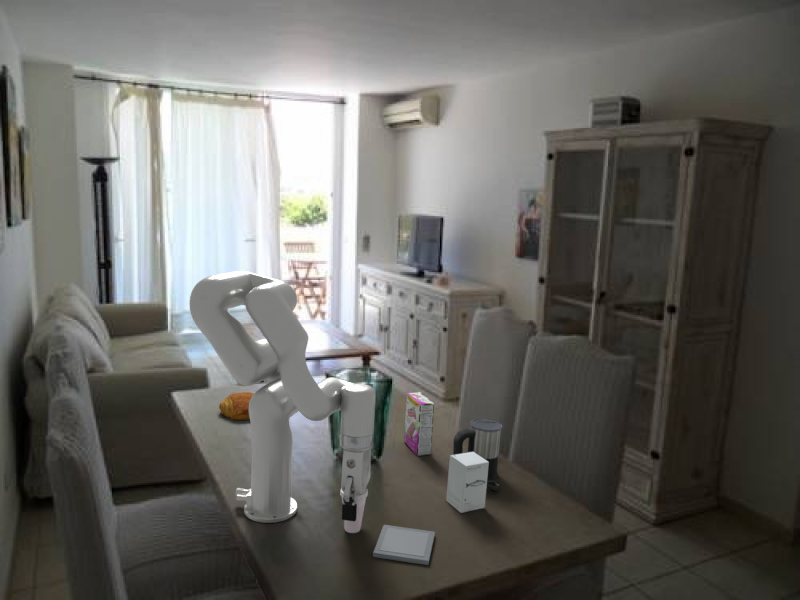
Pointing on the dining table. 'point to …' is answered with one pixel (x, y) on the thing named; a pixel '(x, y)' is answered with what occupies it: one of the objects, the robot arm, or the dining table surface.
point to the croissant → (236, 406)
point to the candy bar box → (419, 423)
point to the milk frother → (482, 445)
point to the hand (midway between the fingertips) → (353, 510)
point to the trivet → (404, 544)
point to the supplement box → (467, 481)
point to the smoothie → (360, 501)
